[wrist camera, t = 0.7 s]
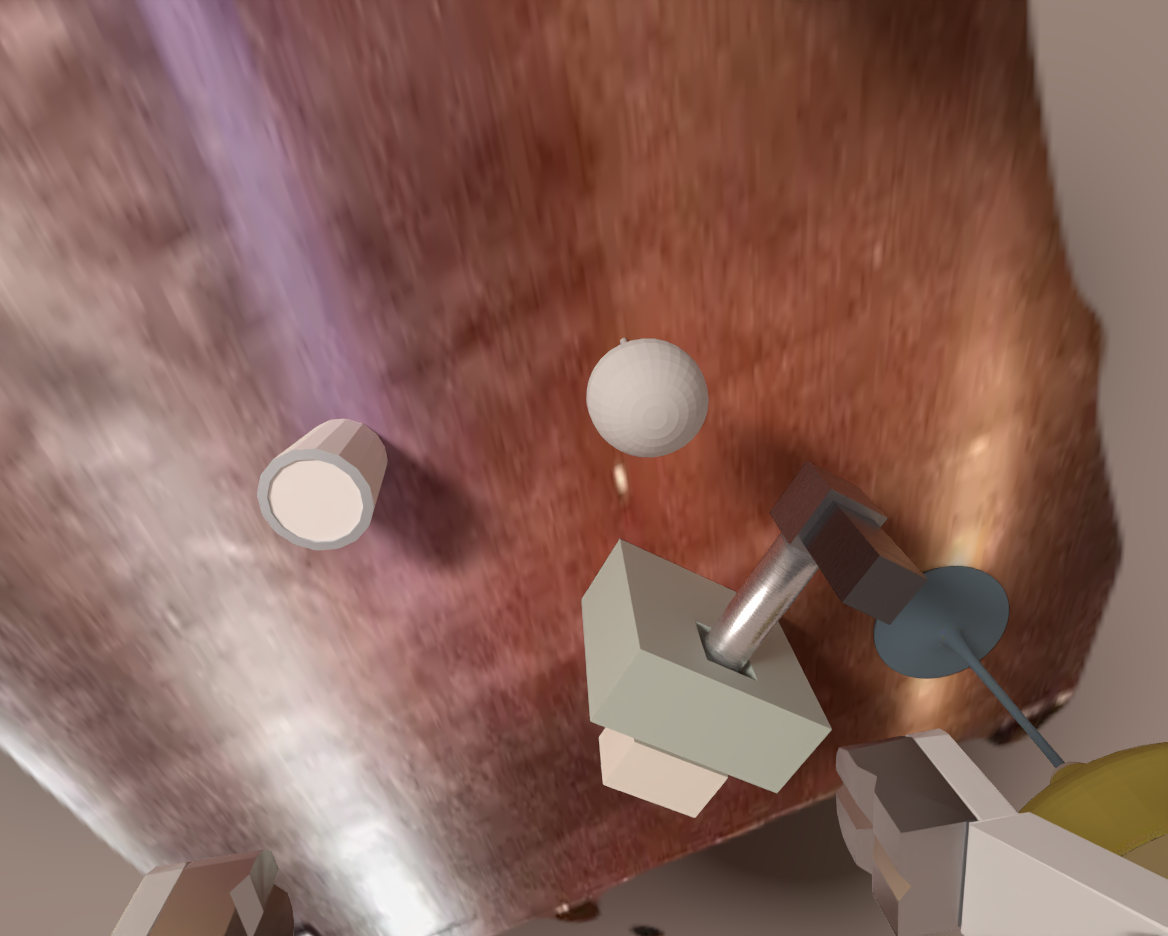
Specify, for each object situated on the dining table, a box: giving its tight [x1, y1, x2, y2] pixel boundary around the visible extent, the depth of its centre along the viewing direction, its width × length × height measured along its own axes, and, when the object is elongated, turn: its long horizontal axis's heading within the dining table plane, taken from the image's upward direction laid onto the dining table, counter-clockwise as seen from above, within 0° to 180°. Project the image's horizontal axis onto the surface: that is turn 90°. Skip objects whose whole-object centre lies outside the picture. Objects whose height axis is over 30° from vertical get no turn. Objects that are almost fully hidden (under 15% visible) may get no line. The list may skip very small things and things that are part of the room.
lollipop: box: [587, 338, 709, 457], centre depth 39 cm, size 6×6×15 cm
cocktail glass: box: [874, 566, 1168, 879], centre depth 45 cm, size 18×18×25 cm
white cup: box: [257, 419, 388, 550], centre depth 45 cm, size 7×7×7 cm
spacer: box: [599, 728, 728, 818], centre depth 47 cm, size 4×7×4 cm, turn 61°
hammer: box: [701, 461, 928, 673], centre depth 42 cm, size 25×4×10 cm, turn 151°
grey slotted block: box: [581, 539, 832, 793], centre depth 49 cm, size 6×14×13 cm, turn 61°
